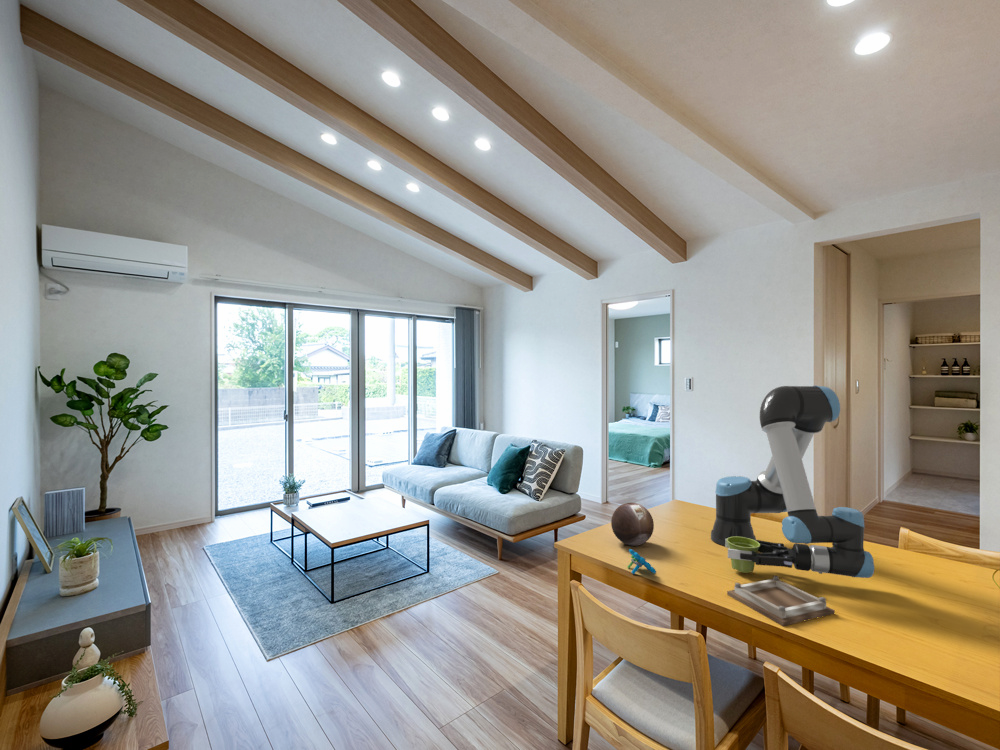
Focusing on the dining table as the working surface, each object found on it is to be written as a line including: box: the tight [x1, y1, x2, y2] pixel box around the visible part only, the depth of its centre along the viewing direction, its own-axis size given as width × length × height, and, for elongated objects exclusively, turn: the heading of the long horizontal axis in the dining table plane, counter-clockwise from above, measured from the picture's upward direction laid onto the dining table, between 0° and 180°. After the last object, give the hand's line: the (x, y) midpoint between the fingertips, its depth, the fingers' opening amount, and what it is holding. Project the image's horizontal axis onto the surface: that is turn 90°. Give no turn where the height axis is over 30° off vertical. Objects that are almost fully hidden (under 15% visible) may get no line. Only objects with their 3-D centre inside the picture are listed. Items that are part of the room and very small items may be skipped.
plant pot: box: [727, 537, 760, 574], centre depth 153 cm, size 9×9×9 cm
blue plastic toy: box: [627, 548, 657, 575], centre depth 154 cm, size 11×6×10 cm
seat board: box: [726, 575, 836, 627], centre depth 133 cm, size 18×18×4 cm
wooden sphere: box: [610, 502, 655, 547], centre depth 178 cm, size 15×15×15 cm
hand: (726, 548), depth 155 cm, fingers closed on plant pot, 8 cm apart
